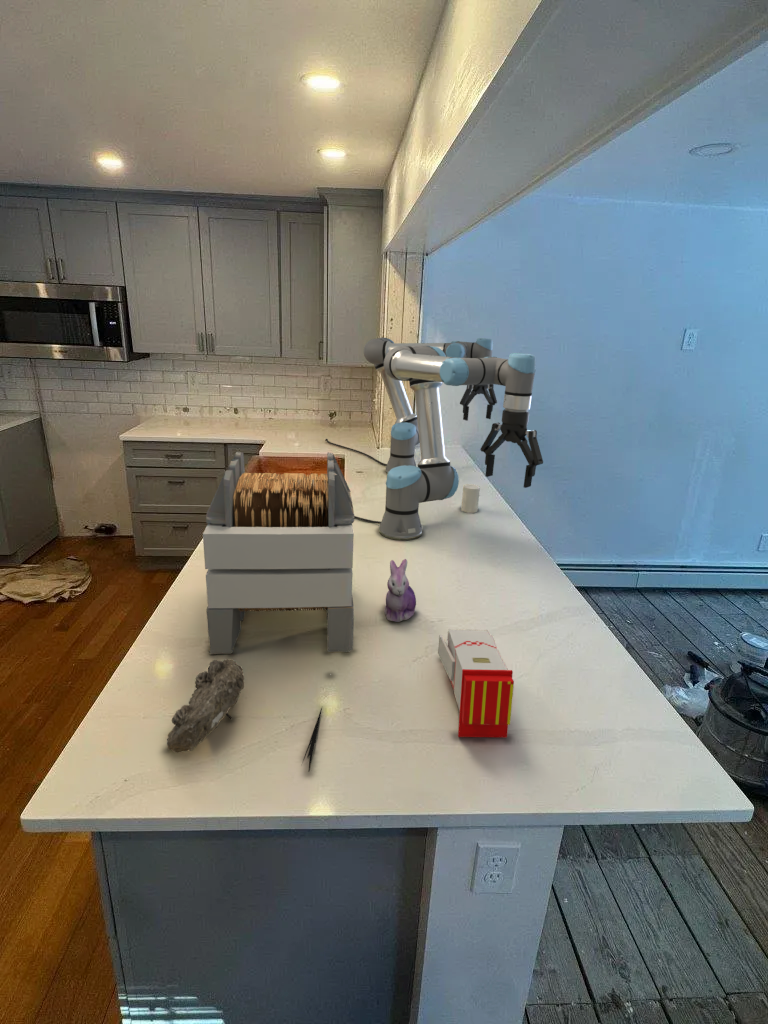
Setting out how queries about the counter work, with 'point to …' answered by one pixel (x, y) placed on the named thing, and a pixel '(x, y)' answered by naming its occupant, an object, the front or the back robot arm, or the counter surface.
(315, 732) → the feather
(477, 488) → the cylinder
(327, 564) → the record storage crate
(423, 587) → the counter surface
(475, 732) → the toy
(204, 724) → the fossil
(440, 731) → the counter surface
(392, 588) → the figurine
